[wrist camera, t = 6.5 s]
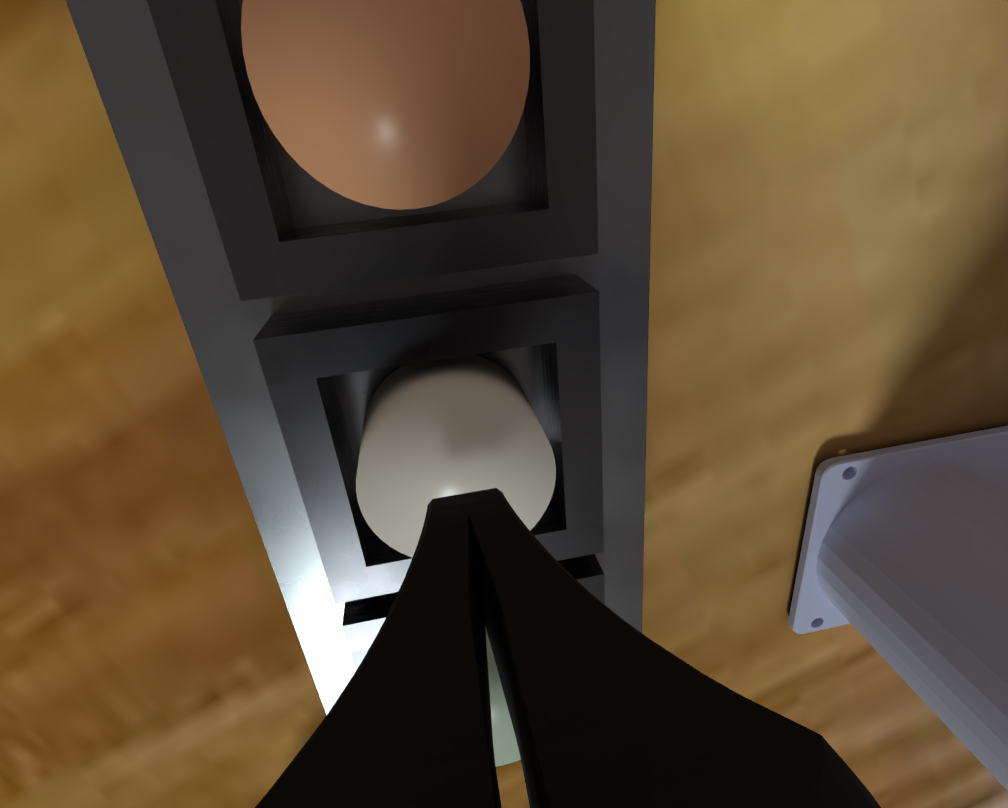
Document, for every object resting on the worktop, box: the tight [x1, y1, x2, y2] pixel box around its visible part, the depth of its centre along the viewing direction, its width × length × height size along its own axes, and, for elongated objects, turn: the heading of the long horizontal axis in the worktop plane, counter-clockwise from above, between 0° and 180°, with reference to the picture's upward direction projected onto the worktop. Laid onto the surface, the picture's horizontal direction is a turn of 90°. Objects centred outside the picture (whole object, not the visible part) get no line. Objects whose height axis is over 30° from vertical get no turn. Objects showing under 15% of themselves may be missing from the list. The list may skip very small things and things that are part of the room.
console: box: [66, 0, 656, 715], centre depth 14 cm, size 11×27×3 cm, turn 5°
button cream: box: [356, 355, 556, 558], centre depth 13 cm, size 4×4×2 cm
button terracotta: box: [241, 0, 530, 210], centre depth 10 cm, size 4×4×2 cm
